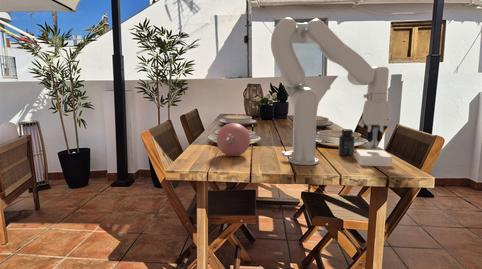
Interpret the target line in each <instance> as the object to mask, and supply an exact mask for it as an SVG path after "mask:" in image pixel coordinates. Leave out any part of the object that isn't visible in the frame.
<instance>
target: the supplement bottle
mask: <svg viewBox="0 0 482 269" xmlns="http://www.w3.org/2000/svg"><path fill="white" fill-rule="evenodd" d="M353 134H354V132H353V129H350V128H343V129H341V134H340V136H339V138H338V155H339V156H342V157H353V156H355V139H356V138H355V136H354V135H353Z"/></svg>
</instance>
